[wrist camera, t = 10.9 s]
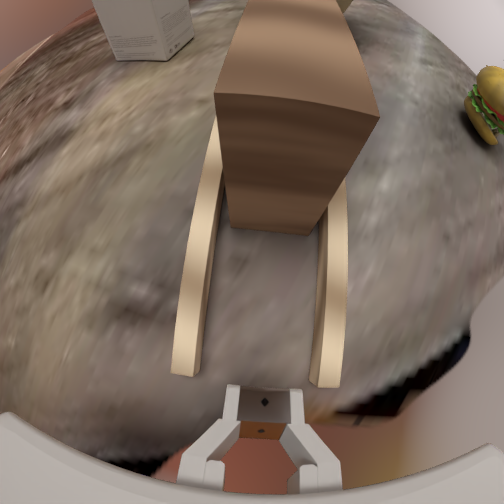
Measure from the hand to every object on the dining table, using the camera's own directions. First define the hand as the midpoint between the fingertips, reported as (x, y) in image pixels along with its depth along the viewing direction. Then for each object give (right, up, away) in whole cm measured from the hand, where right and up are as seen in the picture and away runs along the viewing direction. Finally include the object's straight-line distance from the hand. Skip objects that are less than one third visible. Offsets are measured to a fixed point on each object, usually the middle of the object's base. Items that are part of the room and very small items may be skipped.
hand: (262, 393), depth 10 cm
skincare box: (-12, +30, +14) cm, 35 cm away
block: (+1, +13, +9) cm, 16 cm away
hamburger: (+27, +21, +12) cm, 37 cm away
